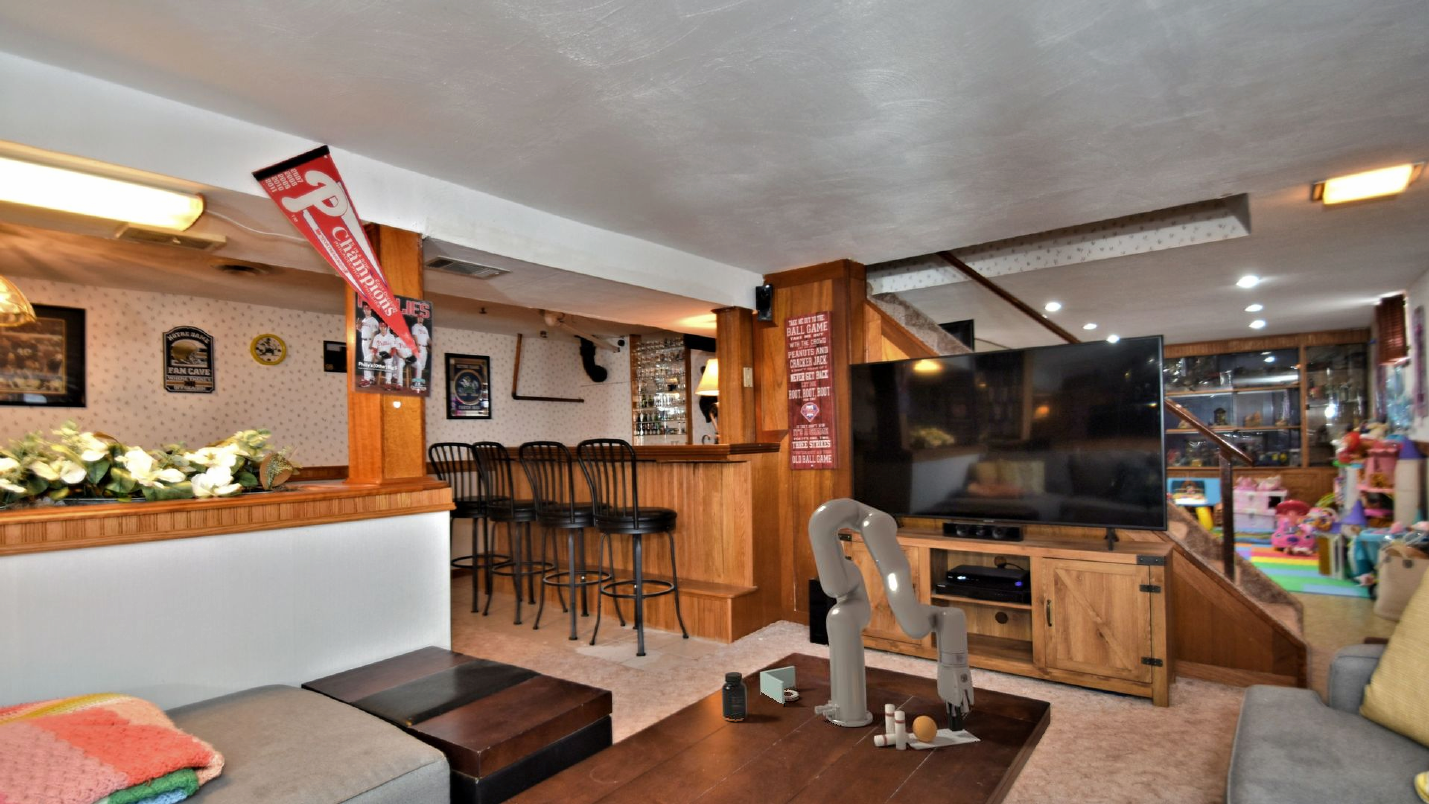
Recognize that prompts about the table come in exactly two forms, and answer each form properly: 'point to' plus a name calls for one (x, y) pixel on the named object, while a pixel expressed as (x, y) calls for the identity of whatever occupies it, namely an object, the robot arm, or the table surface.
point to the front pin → (888, 739)
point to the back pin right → (900, 730)
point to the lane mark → (943, 739)
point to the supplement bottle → (734, 696)
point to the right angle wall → (778, 683)
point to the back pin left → (890, 718)
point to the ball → (924, 728)
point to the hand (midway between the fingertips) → (955, 729)
